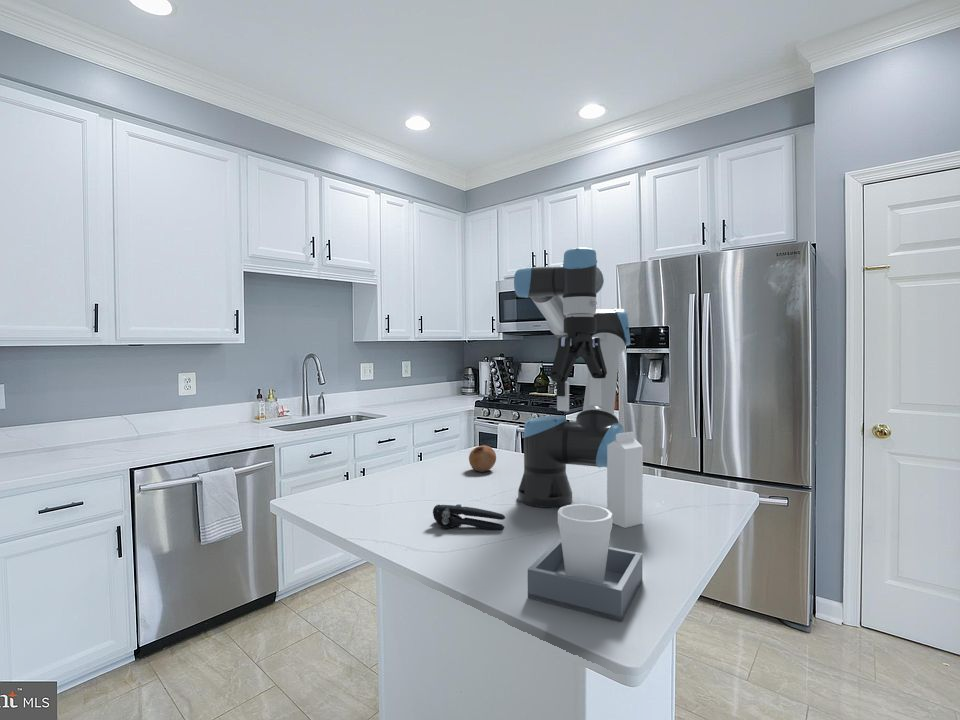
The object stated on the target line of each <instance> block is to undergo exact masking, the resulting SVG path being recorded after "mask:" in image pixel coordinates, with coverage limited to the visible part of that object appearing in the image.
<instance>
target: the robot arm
mask: <svg viewBox="0 0 960 720" xmlns="http://www.w3.org/2000/svg"><path fill="white" fill-rule="evenodd" d="M597 263H598V260H597V251H596V250H595V249H593V248H590V247H589V248H588V247H573V248H570V249H567V250H566V251H564V253H563V262H562V265H557V266H555V265H554V266H553V265H552V266H538V267H536V266H534V267H531V266H529V267H525V268H519V269H516V271H515V273H514V277H513V288H514V293H515V295H516V296H517V297H519V298H527V299H528V298H530V299H531V300H532V302H533V303H534V304H535V306H536V307H537V309H538V311H540V313H541V315H542V316H543V317H544V318H545V320H546V326H547V328H548V330H549V331H550V333H552V334H553V335H554V336H555V337H556V338H558V341H557V350H556V353H555V356H554V360H553V363H552V368H551V370H550V374H549V378H550V379H551V381H553V382H556V410H557V411H559V412H560V411H561V412H570V381H567V380H568V378H569V376H570V374H571V372H572V369H573V367H574V365H575V363H576V361H577V359H579V358H582V359H583V360H584V363H585V365H586V366H587V375H586V377H587V378H586V383H585V392H584V400H583V409H582V411H580V412H578V413H577V415H576V417H575V419H576V420H575V421H567V420H568V419H567V418H566V416H565V415H556V414H554V415H547V416H546V415H545V416H538V417H534V418H530V419H528V420H527V421H526V422H525V423H524V430H523V435H522V436H523V437H522V438H523V468H524V469H523V474H522V477H521V479H520V480H521V481H520V484H519V487H518V489H517V490H518V491H517V499H518V501H519V502H520V503H522V504H523V505H524V504H525V505H528V506H531V507H538V508H557V507H558V508H560V507H564V506H567V505H570V504H571V503H572V502H573V490H572V487H571V485H570V481H569V478H568V475H567V465H572V466H584V467H594V468H595V467H597V468H600V469H601V468H607V445H608V444H610V443H612V442H613V441H615V440H616V434H619V433H625V432H624V431H625V429H624V426H623V424H620V423H619V422H620V421H619V418H618V417H617V416H616V414H615V406H616V405H615V403H616V394H617V380H618V371H619V370H618V368H619V360H620V359H619V358H620V355H621V354H622V353H624V351H625V349H626V347H628V346H630V345H631V334H630V326H629V316H628V315H629V314H628V312H627V311H626V310H625V309H623V308H612V309H610V308H608V309H597V305H598V302H597V294H598V293H599V292H601V290H602V288H603V287H604V280H605V279H604V274H603V272H602V271H601V269H600V268H599V267H597V266H598V265H597Z"/></svg>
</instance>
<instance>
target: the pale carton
mask: <svg viewBox="0 0 960 720" xmlns="http://www.w3.org/2000/svg"><path fill="white" fill-rule="evenodd" d="M643 456H644V448H643V445H642V444H641V443H640V442H639V441H638V440H637V439H636V438H635V433H634V431H627V432H624V433H619V434H616V440H615V441H613V442H612V443H610V444H608V445H607V467H606V468H607V469H606V471H607V473H606V475H607V477H606V478H607V481H606V482H607V483H606V486H607V487H606V489H607V490H606V497H607V499H606V504H607V505H606V506H607V507H606V509H608V510H609V511H610V512H611V513H612V524H615V525H617V526H619V527H621V528H624V529H626V528H630V527H634V526H635V527H636V526H639V525H642V524H643V522H644V520H643V519H644V518H643V514H644V513H643V511H644V509H643V507H644V506H643V504H644V503H643V497H644V496H643V495H644V493H643V491H644V490H643V488H644V487H643V486H644V485H643V484H644V480H643V478H644V477H643V476H644V472H643V471H644V469H643V467H644V463H643V460H644V457H643Z"/></svg>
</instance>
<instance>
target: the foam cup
mask: <svg viewBox="0 0 960 720" xmlns="http://www.w3.org/2000/svg"><path fill="white" fill-rule="evenodd" d="M557 525H558V529H559V537H560V538H561V544H562V551H563V559H564V566H565V573H566V575H568V576H573V577H577V578H581V579H586V580H590V581H595V582H599V583H604V577H605V570H606V562H607V555H608V547H610V546H609V545H610V537H611V531H612V528H613V523H612V513H611V512H610V511H609V510H608V509H607V508H605V507H603V506H599V505H594V504H590V503H589V504H588V503H587V504H585V503H576V504H567V505H564V506H560V507H559V509H558V510H557Z"/></svg>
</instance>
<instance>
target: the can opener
mask: <svg viewBox="0 0 960 720" xmlns="http://www.w3.org/2000/svg"><path fill="white" fill-rule="evenodd" d="M461 515H462V516H463V515H464V516H465V517H463V518H462V516H461ZM432 516H433V519H434V520H435V522H436V524H437V525H439V527H441V528H444V529H450V528H453V527H457V526H461V525H462V526H471V527H475V528H479V529H483V530H492V531H501V530H504V529H505V526H504V525H503V524H502V523H498V522H493V521H488V520H483V519H477V518H485V519H493V520H497V521H498V520H500V521H502V520H505V519H506V516H505V515H504V514H502V513H499V512H496V511H493V510H492V511H490V510H487V509H483V508H477V507H471V506H462V504H461V503H458V504H456V505H451V504H436V505H435V506H434V507H433V509H432ZM467 516H468V517H467ZM472 517H477V518H472Z"/></svg>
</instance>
